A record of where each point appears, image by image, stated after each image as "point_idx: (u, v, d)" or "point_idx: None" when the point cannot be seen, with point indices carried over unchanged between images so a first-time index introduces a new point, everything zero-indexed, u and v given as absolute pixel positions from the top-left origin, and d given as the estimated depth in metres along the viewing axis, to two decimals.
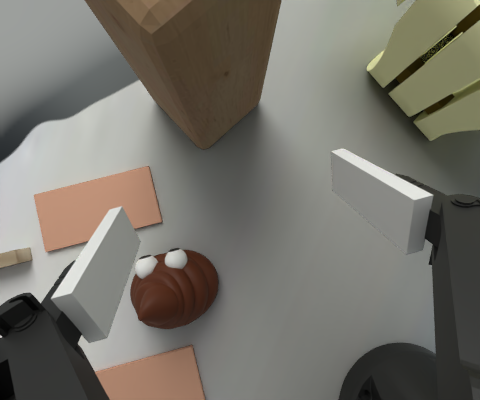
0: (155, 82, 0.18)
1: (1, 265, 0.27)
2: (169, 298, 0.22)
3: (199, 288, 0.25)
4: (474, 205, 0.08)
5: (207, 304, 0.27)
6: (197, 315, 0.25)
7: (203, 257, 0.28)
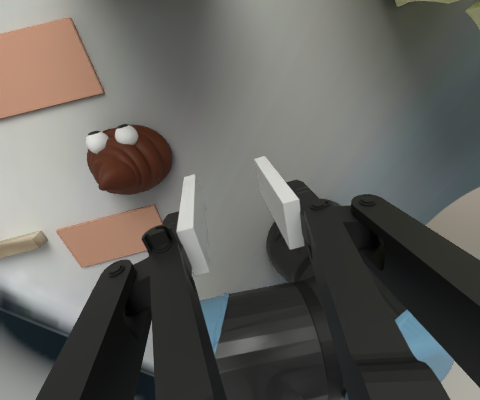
0: None
1: None
2: (125, 171, 0.25)
3: (153, 162, 0.27)
4: (325, 206, 0.10)
5: (163, 174, 0.31)
6: (154, 183, 0.30)
7: (154, 133, 0.29)
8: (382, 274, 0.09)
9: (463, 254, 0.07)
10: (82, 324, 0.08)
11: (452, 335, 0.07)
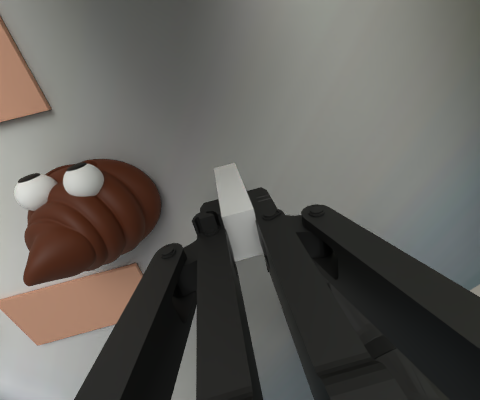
0: None
1: None
2: (75, 248, 0.14)
3: (128, 220, 0.17)
4: (276, 215, 0.10)
5: (147, 230, 0.21)
6: (133, 247, 0.19)
7: (133, 170, 0.19)
8: (338, 283, 0.09)
9: (406, 257, 0.07)
10: (135, 301, 0.08)
11: (407, 338, 0.07)
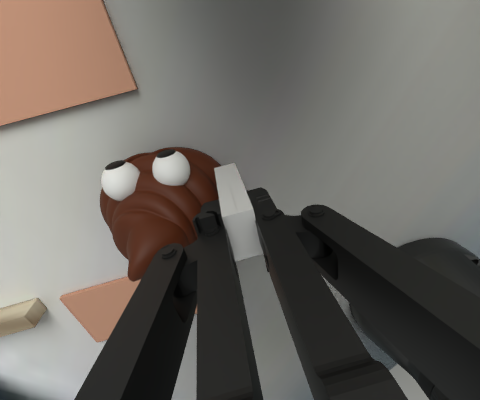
0: None
1: None
2: (175, 241, 0.13)
3: None
4: (276, 215, 0.10)
5: None
6: None
7: (211, 160, 0.18)
8: (337, 284, 0.09)
9: (406, 257, 0.07)
10: (136, 301, 0.08)
11: (406, 339, 0.07)
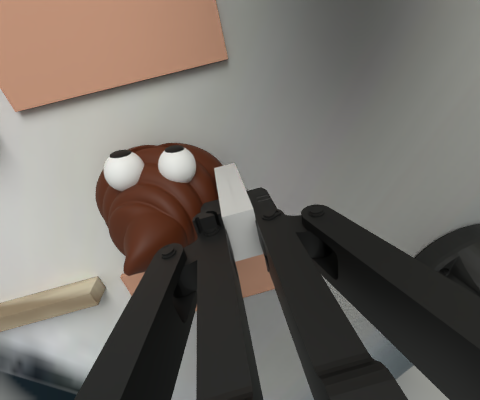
0: None
1: None
2: (175, 239, 0.13)
3: None
4: (276, 215, 0.10)
5: None
6: None
7: (215, 161, 0.18)
8: (338, 283, 0.09)
9: (406, 257, 0.07)
10: (136, 301, 0.08)
11: (407, 339, 0.07)
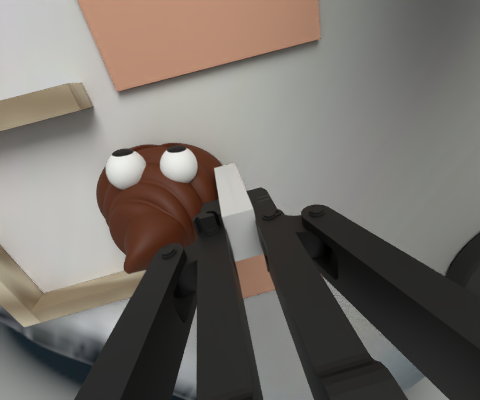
0: None
1: (50, 114, 0.15)
2: (175, 238, 0.13)
3: None
4: (276, 215, 0.10)
5: None
6: None
7: (217, 162, 0.18)
8: (338, 283, 0.09)
9: (406, 257, 0.07)
10: (136, 301, 0.08)
11: (407, 339, 0.07)
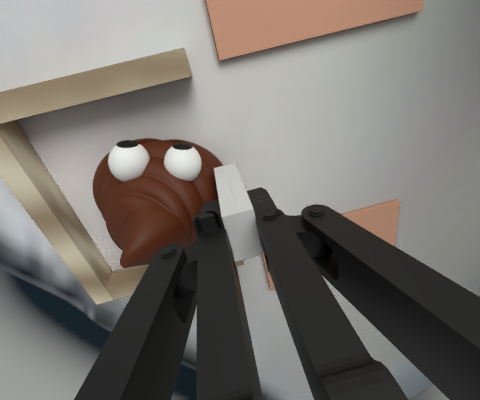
0: None
1: (162, 79, 0.15)
2: (174, 235, 0.13)
3: None
4: (276, 215, 0.10)
5: None
6: None
7: (219, 163, 0.18)
8: (338, 284, 0.09)
9: (406, 257, 0.07)
10: (135, 301, 0.08)
11: (407, 339, 0.07)
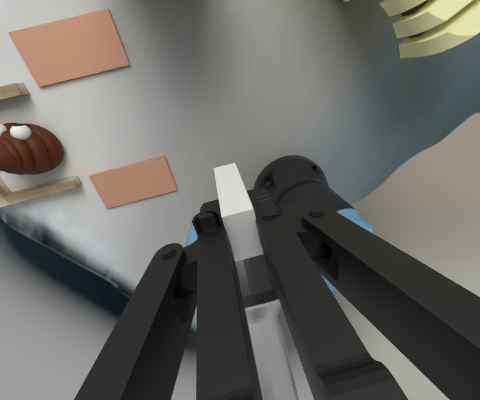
0: None
1: (8, 95, 0.36)
2: (7, 157, 0.34)
3: (37, 155, 0.37)
4: (276, 215, 0.10)
5: (50, 165, 0.41)
6: (39, 171, 0.39)
7: (49, 134, 0.39)
8: (338, 283, 0.09)
9: (406, 257, 0.07)
10: (135, 301, 0.08)
11: (407, 339, 0.07)
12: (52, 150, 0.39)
